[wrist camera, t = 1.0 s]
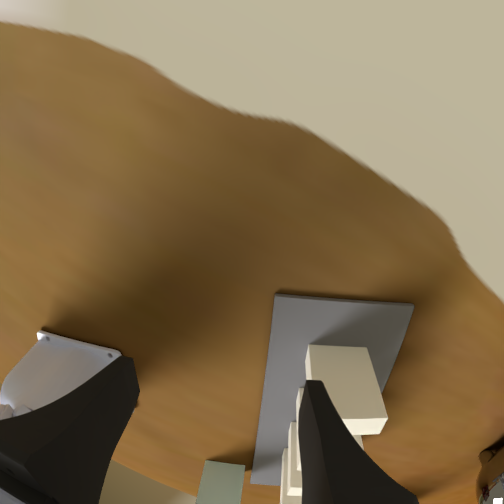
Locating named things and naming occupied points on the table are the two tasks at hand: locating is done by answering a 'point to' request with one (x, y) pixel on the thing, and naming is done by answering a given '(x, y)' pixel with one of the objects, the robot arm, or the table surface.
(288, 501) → the tile
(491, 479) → the piggy bank
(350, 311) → the runner mat
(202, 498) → the pale green tile
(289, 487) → the tile
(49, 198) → the table surface
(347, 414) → the tile
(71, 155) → the table surface
